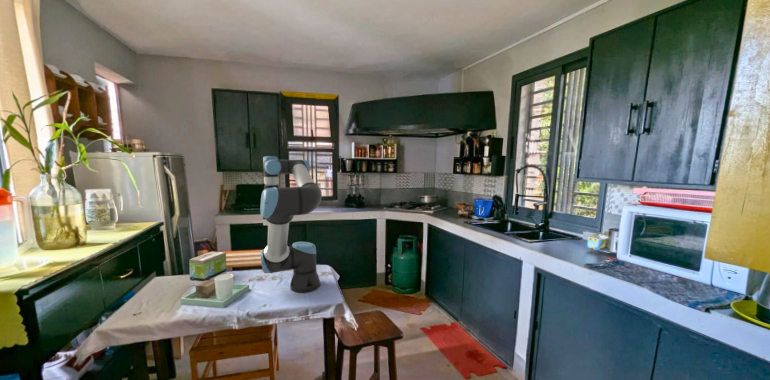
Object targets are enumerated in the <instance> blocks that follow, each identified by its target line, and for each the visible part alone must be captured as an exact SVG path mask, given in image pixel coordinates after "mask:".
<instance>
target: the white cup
mask: <svg viewBox="0 0 770 380" xmlns="http://www.w3.org/2000/svg"><path fill="white" fill-rule="evenodd" d="M214 281H215V289H216V295H217V299H218V300H225V299H227V298H228V297H230V296H231V295H233V284H234V274H233V273H227V274H223V275H219V276H217V277H215V278H214Z"/></svg>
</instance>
